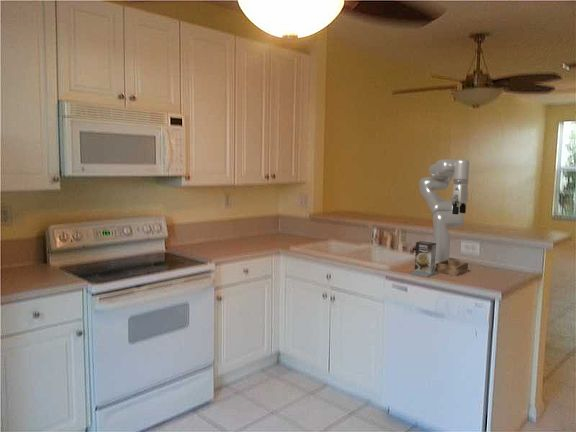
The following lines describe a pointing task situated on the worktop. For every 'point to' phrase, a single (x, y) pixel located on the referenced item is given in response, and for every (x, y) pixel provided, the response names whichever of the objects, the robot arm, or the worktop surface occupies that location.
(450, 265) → the holder
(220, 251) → the worktop surface
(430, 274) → the mat
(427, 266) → the coffee box
